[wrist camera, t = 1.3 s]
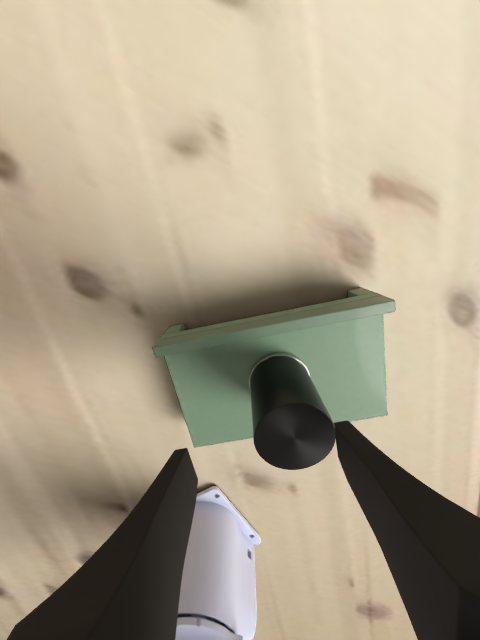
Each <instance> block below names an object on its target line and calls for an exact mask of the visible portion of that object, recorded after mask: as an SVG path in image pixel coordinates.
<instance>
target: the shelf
mask: <svg viewBox="0 0 480 640" xmlns="http://www.w3.org/2000/svg"><path fill="white" fill-rule="evenodd" d="M390 312H395V300H393V299H390V298H388V297H385V296H382V295H380V294H378V293H374V292H372V291H369V290H367V289H364V288H358V289H353V290H349V291H348V298H345V299H340V300H335V301H330V302H325V303H320V304H315V305H310V306H305V307H300V308H295V309H290V310H285V311H280V312H274V313H269V314H264V315H259V316H254V317H249V318H244V319H239V320H234V321H229V322H224V323H219V324H214V325H209V326H204V327H199V328H194V329H189V330H185V328H184V324H179V325H174V326H170V327H169V328H168V329H167V330H166V332H165V333H164V334H163V335H162V336H161V338H160V339H159V340H158V341H157V343H156V344H155V345H154V346H153V347H152V349H153V352H154V355H155V357H156V358H157V357H163V356H164V357H165V360H166V363H167V366H168V369H169V372H170V375H171V378H172V381H173V384H174V387H175V390H176V393H177V396H178V399H179V402H180V406H181V409H182V412H183V415H184V418H185V421H186V424H187V427H188V430H189V433H190V436H191V439H192V442H193V445H194V447H201V446H206V445H212V444H218V443H224V442H230V441H236V440H242V439H248V438H254V437H253V421H252V406H251V392H250V389H249V373H250V370H251V368H252V367H253V365H254V364H255V363H256V362H257V361H258V360H259V359H260V358H262V357H263V356H265V355H267V354H270V353H274V352H286V353H290V354H293V355H295V356H297V357H298V358H300V359H301V360H302V361H303V362H304V364H305V365H306V367H307V369H308V371H309V373H310V378H311V380H312V381H313V383H314V385H315V387H316V389H317V391H318V393H319V395H320V397H321V399H322V401H323V403H324V405H325V407H326V409H327V411H328V413H329V415H330V417H331V419H332V421H333V423H335V422H340V421H346V420H347V421H349V422H350V421H356V420H362V419H368V418H374V417H380V416H386V415H387V397H386V372H385V348H384V323H383V314H385V313H390Z"/></svg>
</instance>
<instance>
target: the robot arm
mask: <svg viewBox="0 0 480 640" xmlns="http://www.w3.org/2000/svg"><path fill="white" fill-rule="evenodd" d="M334 427H335V435H336V443H337V452H338V457H339V460H340V463H341V465H342V468H343V471H344V473H345V476H346V478H347V480H348V482H349V485H350V487H351V489H352V491H353V493H354V495H355V496H356V498H357V500H358V502H359V504H360V506H361V508H362V510H363V512H364V514H365V516H366V518H367V520H368V522H369V524H370V526H371V528H372V530H373V532H374V534H375V536H376V538H377V541H378V543H379V545H380V547H381V549H382V552H383V554H384V557H385V559H386V561H387V564H388V566H389V569H390V571H391V573H392V576H393V578H394V581H395V583H396V586H397V588H398V591H399V593H400V596H401V598H402V600H403V603H404V605H405V608H406V610H407V613H408V615H409V618H410V621H411V623H412V626H413V628H414V631H415V633H416V636H417V638H418V640H480V518H479V517H477V516H475V515H474V514H472V513H470V512H469V511H467V510H465V509H464V508H462V507H460V506H458V505H457V504H455V503H453V502H452V501H450V500H448V499H447V498H445V497H443V496H442V495H440V494H439V493H437V492H436V491H434V490H433V489H431V488H430V487H428V486H427V485H425V484H424V483H422V482H421V481H419V480H418V479H416V478H415V477H414V476H412V475H411V474H410V473H408V472H407V471H406V470H404V469H403V468H402V467H400V466H399V465H398V464H396V463H395V462H394V461H393V460H391V459H390V458H389V457H388V456H386V455H385V454H384V453H383V452H382V451H381V450H379V449H378V448H377V447H376V446H375V445H373V444H372V443H371V442H370V441H369V440H368V439H367V438H366V437H365V436H363V435H362V434H361V433H360V432H359V431H358V430H357V429H356V428H355V427H354V426H353V425H352V424H351V423H350V422H349V421H347V420H346V421H340V422H335V423H334ZM197 484H198V478H197V475H196V473H195V470H194V467H193V464H192V461H191V458H190V455H189V452H188V450H187V448H184V449H178V450H175V451H174V452H173V454H172V455H171V457H170V458H169V460H168V461H167V463H166V464H165V466H164V467H163V468H162V470H161V471H160V473H159V474H158V476H157V477H156V479H155V480H154V482H153V483H152V484H151V486H150V487H149V489H148V490H147V492H146V493H145V494H144V496H143V497H142V498H141V500H140V501H139V502H138V504H137V505H136V506H135V508H134V509H133V510H132V512H131V513H130V514H129V515H128V517H127V518H126V519H125V520H124V521H123V523H122V524H121V525H120V526H119V527H118V528H117V530H116V531H115V532H114V533H113V534H112V535H111V536H110V538H109V539H108V540H107V541H106V542H105V543H104V544H103V545H102V546H101V547H100V548H99V549H98V550H97V551H96V552H95V553H94V554H93V556H92V557H91V558H90V559H89V560H88V561H87V562H86V563H85V564H84V565H83V566H82V567H81V568H80V569H79V570H78V571H77V572H76V573H75V574H73V575H72V576H71V577H70V578H69V579H68V580H67V581H66V582H65V583H64V584H63V585H62V586H61V587H60V588H58V589H57V590H56V591H55V592H54V593H53V594H52V595H51V596H50V597H48V598H47V599H46V600H45V601H44V602H42V603H41V604H40V605H39V606H38V607H37V608H35V609H34V610H33V611H32V612H31V613H30V614H28V615H27V616H26V617H25V618H24V619H23V620H21V621H20V622H19V623H18V624H16V625H15V627H14V628H13V630H12V632H11V633H10V635H9V637H8V638H7V640H253V638H254V634H255V629H256V622H257V603H256V580H255V557H254V546H255V545H257V544H259V543H260V542H261V537H260V536H259V535H258V533H257V532H256V531H255V530H254V529H253V528H252V526H251V525H250V524H249V523H248V522H247V521H246V519H245V518H244V517H243V516H242V515H241V514H240V512H239V511H238V510H237V509H236V508H235V507H234V505H233V504H232V503H231V502H230V501H229V500H228V498H227V497H226V496H225V495H224V494H223V493H222V491H221V490H220V489H219V488H218V487H216V486H212V487H210V488H208V489H206V490H204V491H202V492H200V493H198V494H197Z"/></svg>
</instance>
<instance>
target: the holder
mask: <svg viewBox="0 0 480 640" xmlns="http://www.w3.org/2000/svg"><path fill="white" fill-rule="evenodd" d="M249 389H250V392H251V406H252V421H253V437H254V444H255V448H256V450H257V452H258V453H259V455H260V456H261V457H262V458H263V459H264V460H265V461H266V462H268V463H269V464H271V465H273V466H275V467H278V468H282V469H288V470H297V469H304V468H307V467H310V466H313V465H315V464H317V463H318V462H320V461H321V460H323V459H324V458H325V457H326V456H327V455H328V454H329V453H330V451H331V450H332V448H333V446H334V443H335V439H336V435H335V427H334V423H333V421H332V419H331V417H330V415H329V413H328V411H327V409H326V407H325V405H324V403H323V401H322V399H321V397H320V395H319V393H318V391H317V389H316V387H315V385H314V383H313V381H312V380H311V378H310V373H309V371H308V369H307V367H306V365H305V364H304V362H303V361H302V360H301V359H300V358H298V357H297V356H295V355H293V354H290V353H286V352H274V353H270V354H267V355H265V356H263V357H262V358H260V359H259V360H258V361H257V362H256V363H255V364H254V365H253V367H252V368H251V370H250V373H249Z"/></svg>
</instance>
